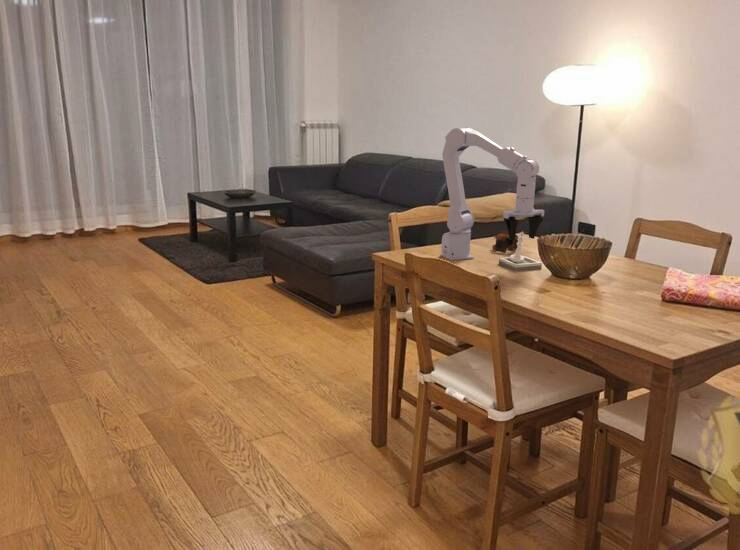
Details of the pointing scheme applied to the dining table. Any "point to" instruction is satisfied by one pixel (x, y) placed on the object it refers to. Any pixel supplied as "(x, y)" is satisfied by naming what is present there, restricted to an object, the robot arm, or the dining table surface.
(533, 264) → the picture frame
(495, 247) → the pottery mug
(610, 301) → the dining table surface
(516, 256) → the chess piece
